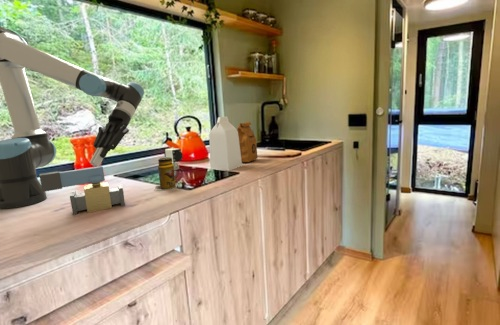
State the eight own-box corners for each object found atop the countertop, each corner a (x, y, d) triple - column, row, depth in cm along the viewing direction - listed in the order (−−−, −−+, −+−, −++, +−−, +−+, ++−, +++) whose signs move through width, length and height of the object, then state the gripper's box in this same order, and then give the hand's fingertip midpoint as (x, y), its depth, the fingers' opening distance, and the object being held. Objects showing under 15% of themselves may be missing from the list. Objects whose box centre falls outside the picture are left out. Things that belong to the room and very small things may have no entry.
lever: (105, 181, 96) (103, 166, 95) (42, 192, 87) (39, 176, 86) (103, 179, 100) (100, 164, 99) (42, 189, 91) (39, 173, 90)
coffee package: (260, 159, 169) (258, 121, 165) (248, 164, 159) (246, 123, 155) (246, 159, 175) (243, 121, 171) (233, 163, 165) (231, 123, 161)
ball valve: (72, 215, 92) (68, 188, 90) (74, 209, 98) (70, 184, 97) (125, 205, 98) (121, 180, 97) (123, 200, 105) (120, 176, 103)
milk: (228, 170, 145) (224, 117, 140) (210, 169, 151) (206, 118, 146) (242, 165, 155) (238, 115, 150) (224, 164, 161) (220, 116, 156)
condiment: (176, 188, 117) (173, 158, 114) (154, 191, 115) (150, 161, 113) (176, 184, 124) (173, 156, 121) (155, 186, 122) (152, 158, 120)
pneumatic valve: (176, 171, 150) (173, 148, 148) (165, 169, 159) (163, 146, 157) (185, 169, 154) (183, 146, 152) (174, 167, 162) (172, 145, 160)
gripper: (101, 109, 116) (71, 158, 104) (130, 107, 112) (102, 158, 99) (114, 122, 122) (86, 170, 110) (141, 120, 118) (116, 170, 105)
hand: (94, 164), depth 105 cm, fingers closed
